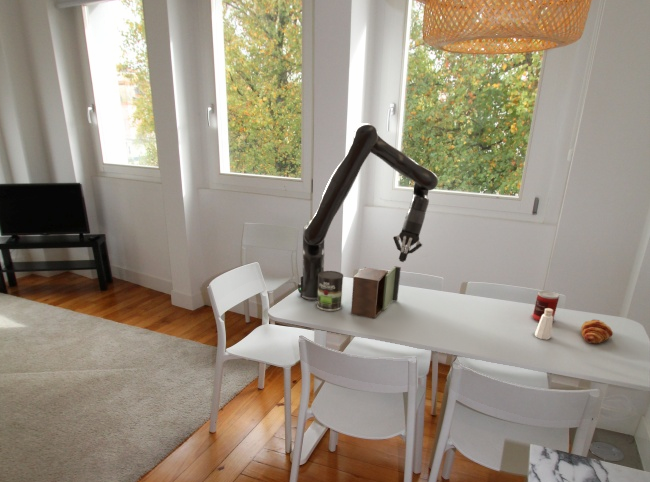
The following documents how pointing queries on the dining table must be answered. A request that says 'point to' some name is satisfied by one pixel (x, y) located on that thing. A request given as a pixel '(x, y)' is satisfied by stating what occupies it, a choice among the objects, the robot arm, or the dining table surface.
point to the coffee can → (329, 290)
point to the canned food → (545, 303)
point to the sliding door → (391, 286)
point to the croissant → (596, 331)
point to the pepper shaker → (545, 325)
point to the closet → (368, 292)
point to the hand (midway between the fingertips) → (401, 261)
